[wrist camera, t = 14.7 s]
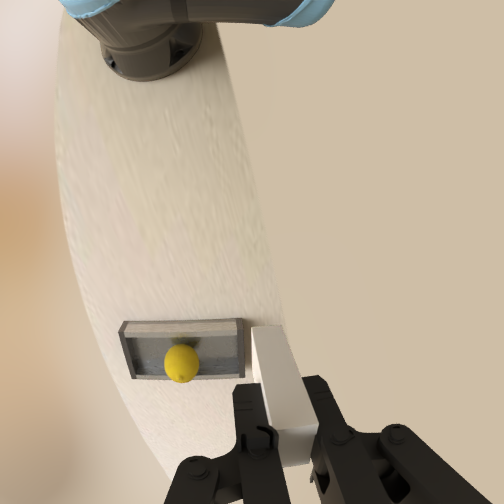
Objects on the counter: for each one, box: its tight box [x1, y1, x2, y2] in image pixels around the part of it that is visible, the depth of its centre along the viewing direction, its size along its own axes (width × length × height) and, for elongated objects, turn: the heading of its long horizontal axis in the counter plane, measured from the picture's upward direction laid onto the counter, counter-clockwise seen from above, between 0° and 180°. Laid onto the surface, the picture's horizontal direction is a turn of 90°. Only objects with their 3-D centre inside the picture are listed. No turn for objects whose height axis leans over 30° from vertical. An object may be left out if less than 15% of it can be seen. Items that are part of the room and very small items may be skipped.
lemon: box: [164, 344, 199, 383], centre depth 43 cm, size 6×6×8 cm
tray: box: [118, 318, 245, 380], centre depth 46 cm, size 10×20×4 cm, turn 91°
